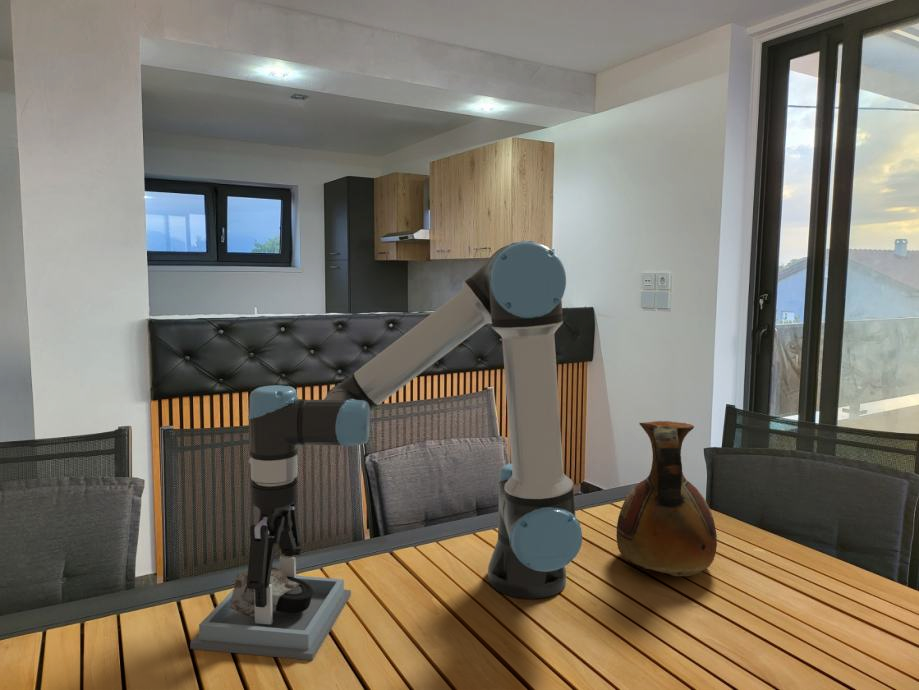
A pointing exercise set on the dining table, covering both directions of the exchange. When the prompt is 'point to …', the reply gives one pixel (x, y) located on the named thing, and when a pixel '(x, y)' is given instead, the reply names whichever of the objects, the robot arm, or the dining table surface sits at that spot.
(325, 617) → the tray
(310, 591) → the caster wheel
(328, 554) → the dining table surface
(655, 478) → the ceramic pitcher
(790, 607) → the dining table surface
